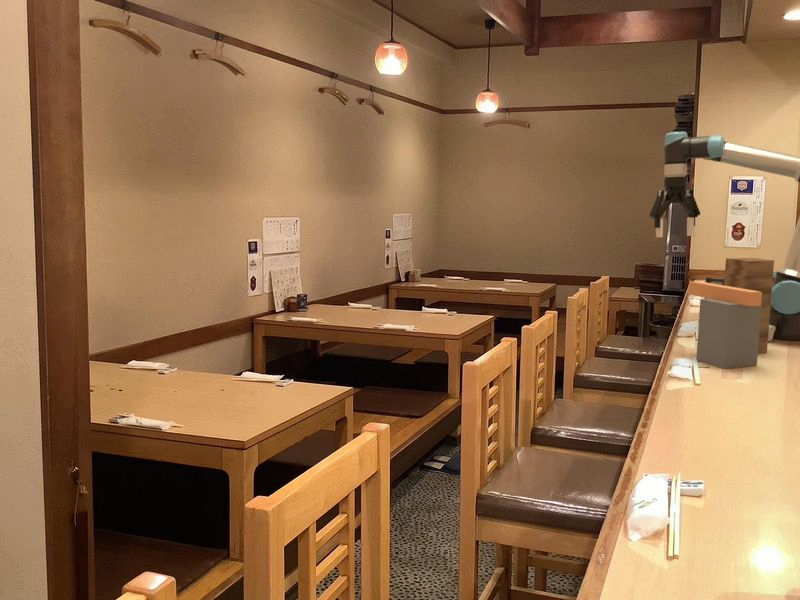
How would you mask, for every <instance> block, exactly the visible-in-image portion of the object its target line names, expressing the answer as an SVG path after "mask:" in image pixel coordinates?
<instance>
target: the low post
mask: <svg viewBox="0 0 800 600" xmlns="http://www.w3.org/2000/svg"><path fill="white" fill-rule="evenodd" d="M761 306H762V303H761ZM761 306H746V305H741V304H736V303H731V302H726V301H721V300H716V299H704V298H700V299H699V312H698V313H699V314H698V315H699V316H698V326H697V327H698V329H697V342H696V343H697V344H696V358H695V360H696V361H697V360H698V362H701V363H704V364H707V365H711V366H714V367H718V368H720V369H723V370H725V369H726V370H727V369H736V368H737V369H739V368H751V367H757V366H758V355H759V354H758V344H759V331H760V319H761Z"/></svg>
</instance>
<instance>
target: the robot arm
mask: <svg viewBox="0 0 800 600" xmlns="http://www.w3.org/2000/svg"><path fill="white" fill-rule="evenodd" d="M663 149H664V155H663V157H664V166H663V167H664V173H663V174H664V180H663V181H664V182H663V183H664V185H663V186H664V188H665V190H658V191H657V194H656V198H655V201H654V203H653V204H652V208H651V211H650V214H649V218H652V219H654V228H655V238H663V237H664V232H663V231H664V219H663V218H662V216H664V213H665V212H666V210H667V209H668V208H669V206H670V205H671V204H676V203H677V204H680V206H681V207H682V208H683V210H684V212H686V214H687V216H688V217H687V218H686V236H689V237H690V236H691V237H693V236H695V235H694V234H695V226H696V218H697V217H698V216H700V215H701V210H700V209H699V206H698V203H697V200H696V199H695V196H694V190H693V189H686V187H687V186H688V185H687V184H688V180H687V179H688V178H687V177H686V176H687V175H688V160H689V159H690V160H692V159H703V160H705V161H713V162H716V163H722V164H726V165H727V164H728V165H732V166H737V167H741V168H746V169H751V170H754V171H755V170H756V171H760V172H765V173H769V174H774V175H779V176H783V177H786V178H787V177H788V178H793V179H794V180H795V181H796V182H797V183H800V155H795V154H790V153H786V152H785V153H784V152H780V151H775V150H770V149H765V148H759V147H754V146H751V145H747V144H746V145H745V144H740V143H736V142H735V143H734V142H732V141H731V142H729V141H725V139H724V136H723V135H721V134H720V135H718V134H717V135H716V134H715V135H714V134H713V135H704V136H703V135H701V136H694V137H693V136H692V137H691V136H688V133H687V132H686V131H673V132H668V133H666V134H665V135H664V147H663ZM785 257H786V258H785V261H784V264H783V266H781V267H780V268H779V269H777V270H776V271H775V272H774V271H773V282H772V294H771V307H770V320H769V325H772V326H775V327H776V329H775V331H774V335H773V338H772V339H775V338H777V339H778V340H784V339H785V340H787V341H800V216H798V220H797V224H796V227H795V230H794V233H793V237H792V239H791V242H790V245H789V248H788V252H787V254H786V256H785ZM777 339H776V340H777Z"/></svg>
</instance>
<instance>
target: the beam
mask: <svg viewBox="0 0 800 600" xmlns="http://www.w3.org/2000/svg"><path fill="white" fill-rule="evenodd" d="M688 287H689V288H688V295H691V296H696V297H701V298H704V297H705V298H710V299H716V300H721V301H726V302H731V303H736V304H741V305H746V306H761V299H762V292H760V291H754V290H748V289H742V288H736V287H730V286H724V285H718V284H712V283H706V281H689V285H688Z"/></svg>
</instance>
